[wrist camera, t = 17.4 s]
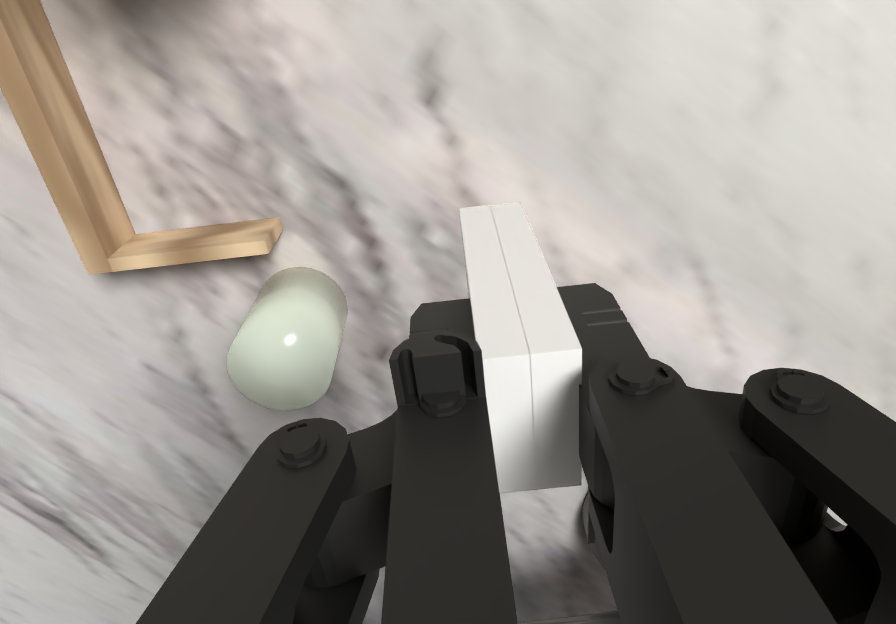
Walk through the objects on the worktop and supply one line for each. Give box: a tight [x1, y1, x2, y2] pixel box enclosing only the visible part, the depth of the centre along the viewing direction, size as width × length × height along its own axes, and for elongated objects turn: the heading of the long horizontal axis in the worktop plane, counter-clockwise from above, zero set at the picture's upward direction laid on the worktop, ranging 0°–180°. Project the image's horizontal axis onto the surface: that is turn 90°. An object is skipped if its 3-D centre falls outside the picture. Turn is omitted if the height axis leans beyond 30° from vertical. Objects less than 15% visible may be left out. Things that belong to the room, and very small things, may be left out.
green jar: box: [227, 267, 348, 410], centre depth 39 cm, size 6×6×8 cm
